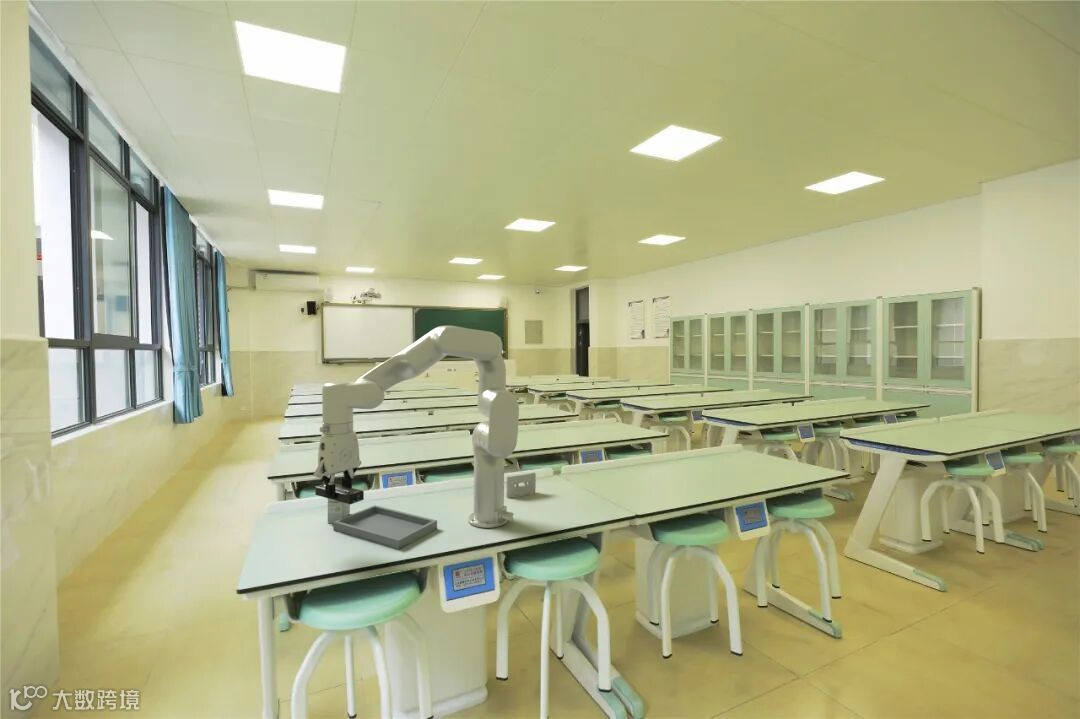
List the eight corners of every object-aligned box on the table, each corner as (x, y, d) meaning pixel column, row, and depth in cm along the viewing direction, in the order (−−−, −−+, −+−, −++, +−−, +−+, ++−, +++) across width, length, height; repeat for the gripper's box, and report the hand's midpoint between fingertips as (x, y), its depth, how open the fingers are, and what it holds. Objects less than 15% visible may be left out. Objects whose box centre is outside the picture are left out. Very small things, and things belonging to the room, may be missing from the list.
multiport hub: (328, 490, 131) (328, 482, 131) (364, 499, 124) (364, 490, 124) (314, 494, 127) (314, 486, 127) (350, 504, 120) (350, 495, 120)
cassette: (507, 498, 169) (507, 477, 169) (505, 497, 171) (505, 476, 170) (536, 493, 175) (536, 473, 175) (533, 491, 177) (534, 471, 176)
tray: (437, 528, 141) (437, 520, 141) (398, 549, 127) (398, 540, 127) (374, 512, 153) (374, 505, 153) (333, 530, 139) (333, 521, 139)
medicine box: (336, 513, 152) (336, 487, 151) (350, 513, 152) (350, 487, 152) (327, 523, 144) (327, 495, 144) (342, 523, 144) (342, 495, 144)
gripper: (319, 435, 116) (320, 508, 117) (372, 424, 131) (373, 488, 132) (300, 432, 119) (301, 502, 120) (353, 422, 134) (354, 484, 135)
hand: (338, 494), depth 126 cm, fingers closed on multiport hub, 4 cm apart
